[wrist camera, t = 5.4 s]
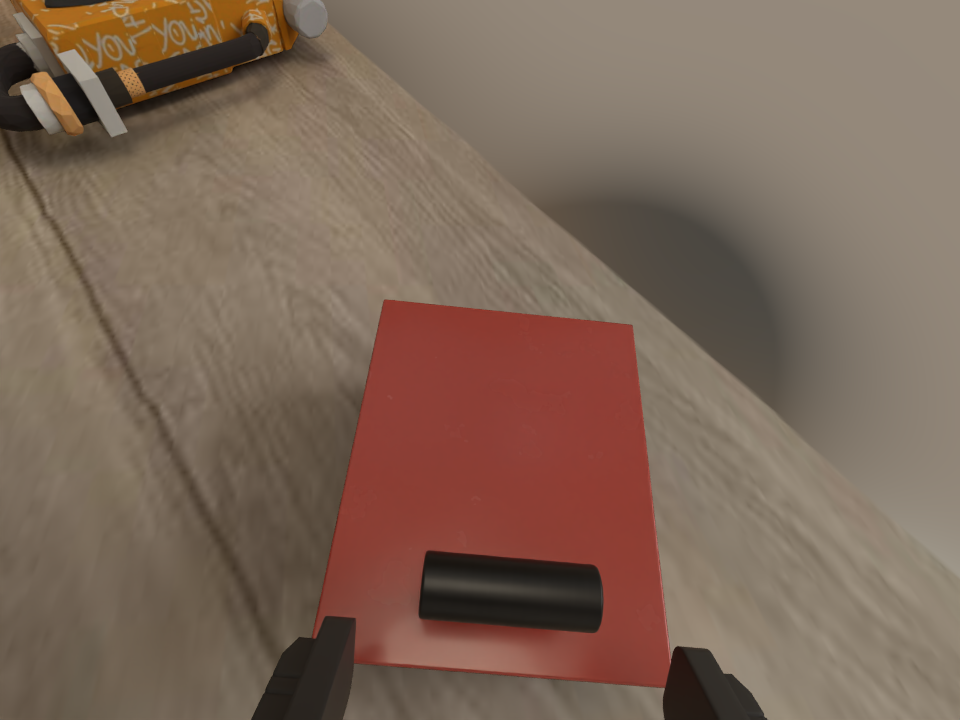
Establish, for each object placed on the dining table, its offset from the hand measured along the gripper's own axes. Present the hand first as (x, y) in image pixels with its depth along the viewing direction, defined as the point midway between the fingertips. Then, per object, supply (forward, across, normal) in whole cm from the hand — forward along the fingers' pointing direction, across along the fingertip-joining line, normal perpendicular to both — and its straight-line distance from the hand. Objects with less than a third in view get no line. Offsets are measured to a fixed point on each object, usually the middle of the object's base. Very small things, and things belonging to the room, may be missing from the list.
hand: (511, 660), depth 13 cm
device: (+42, +32, -23) cm, 58 cm away
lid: (+9, 0, -1) cm, 9 cm away
